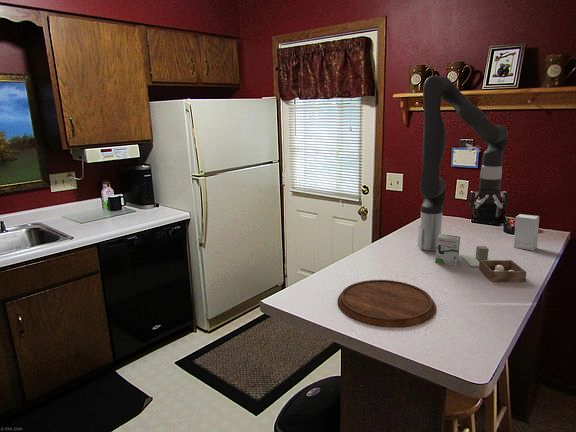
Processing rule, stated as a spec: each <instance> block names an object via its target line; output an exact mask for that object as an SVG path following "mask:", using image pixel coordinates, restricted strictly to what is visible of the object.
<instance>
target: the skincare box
mask: <svg viewBox="0 0 576 432" xmlns="http://www.w3.org/2000/svg"><path fill="white" fill-rule="evenodd" d="M514 221H515V223H514V236H513V237H514V239H513V248H516V249H521V250H528V251H535V250H536V249H537V247H538V241H539V240H538V239H539V225H540V215H531V214H522V213H519V214H518V215H517V216H515V220H514Z"/></svg>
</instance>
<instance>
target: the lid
mask: <svg viewBox="0 0 576 432" xmlns="http://www.w3.org/2000/svg"><path fill="white" fill-rule="evenodd" d="M460 258H462V259H463V260H464V262H466V264H467V265H468V266H469V267H470V268H479V262H480V260H497V259H496V257H494V256H493V255H492V254H489V247H487V245H476V248H475V254H461V255H460Z"/></svg>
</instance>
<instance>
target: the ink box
mask: <svg viewBox="0 0 576 432" xmlns="http://www.w3.org/2000/svg"><path fill="white" fill-rule="evenodd" d="M460 245H461V236H459V235H451V234H443V233H441V234H439V235H438V237H437V246H436V251H435V259H434V260H435V261H434V262H435V264H440V265H447V266H448V265H449V266H450V265H451V266H455V267H457V266H458V263H459V255H460V247H461V246H460Z"/></svg>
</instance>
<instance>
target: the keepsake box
mask: <svg viewBox="0 0 576 432" xmlns="http://www.w3.org/2000/svg"><path fill="white" fill-rule="evenodd" d="M497 265H502V266H503V267H504V271H494V270H495V267H496V266H497ZM509 270H514V271H509ZM478 271H480V273H482V274H483V276H484V277H485V278H487V280H488V281H489V282H490V283H525V282H526V277H527V271H526V270H525V269H523V268H522V267H521V266H520V265H519V264H517V263H516V262H515V261H513V260H511V259H498V260H497V259H496V260H480V262H479V267H478Z"/></svg>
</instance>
